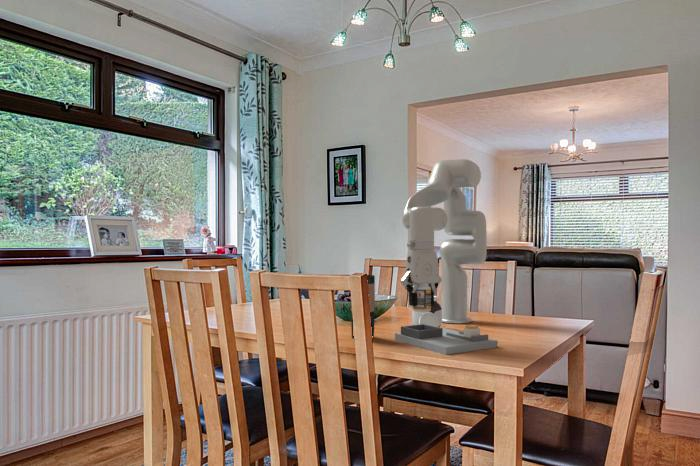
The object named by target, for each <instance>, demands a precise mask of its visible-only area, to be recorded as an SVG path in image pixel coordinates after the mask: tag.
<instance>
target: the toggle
mask: <svg viewBox="0 0 700 466" xmlns="http://www.w3.org/2000/svg"><path fill="white" fill-rule="evenodd" d="M463 332H464V336H465V337H469V338H471V336H477V335H481V328H480V327H479V325H477V324H476V325H475V324H469V325H465V327H463Z"/></svg>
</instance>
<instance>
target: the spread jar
mask: <svg viewBox="0 0 700 466" xmlns="http://www.w3.org/2000/svg"><path fill="white" fill-rule="evenodd" d="M441 308H442V305H441V304H440V303H439V302H438V297H437V295H434V305H431V311H429V312H416V311H413V309H412V312H411V313H412V314H411V317H412V318H411V319H412V321H411V322H412V325H420V324H425V325H430V326H434V327H438V328H441V326H442V323H443V322H442V309H441Z"/></svg>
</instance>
